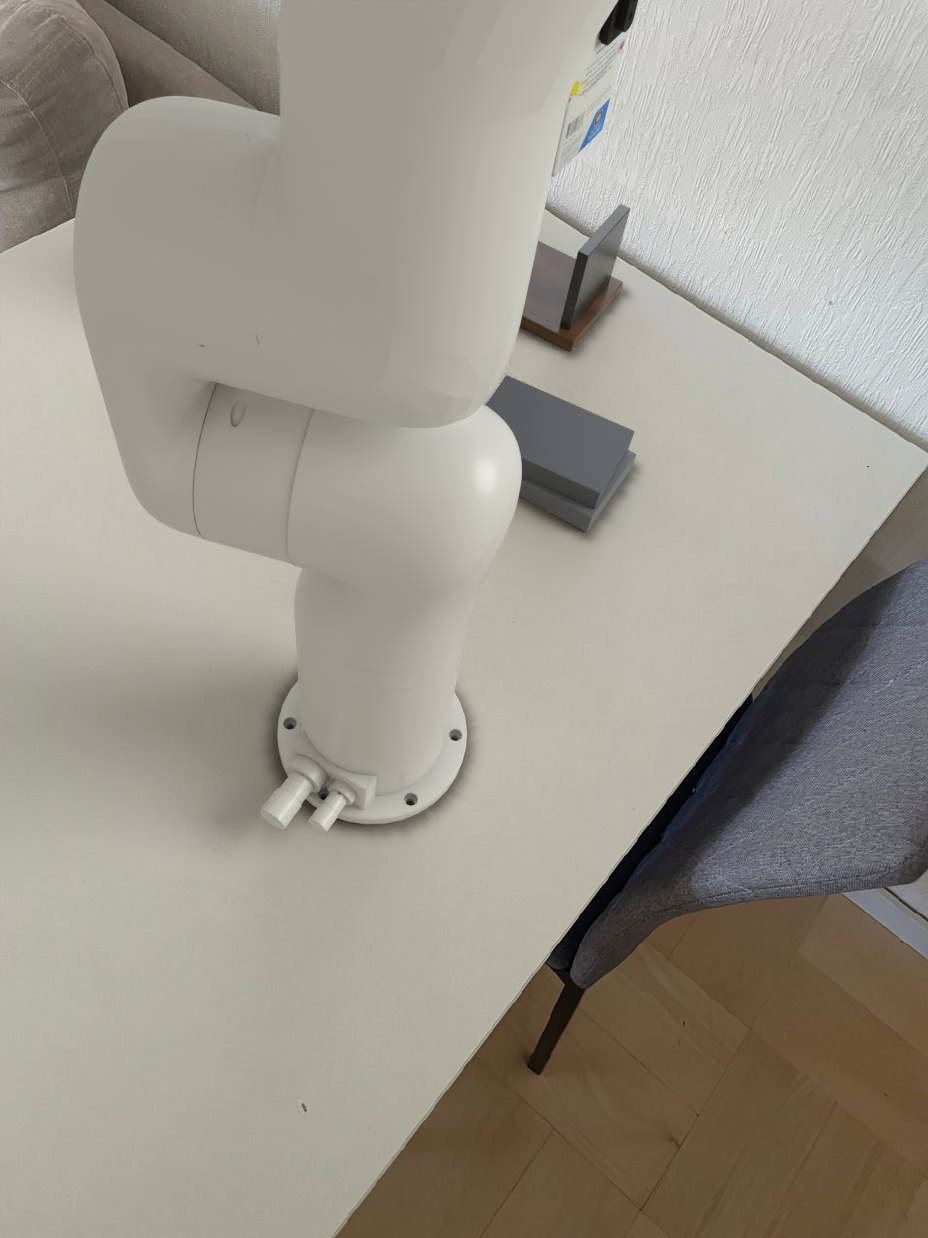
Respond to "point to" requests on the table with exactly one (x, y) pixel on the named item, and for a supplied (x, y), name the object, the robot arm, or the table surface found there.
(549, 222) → the table surface
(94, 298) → the robot arm
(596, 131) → the ink box
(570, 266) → the book rack
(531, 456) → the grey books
